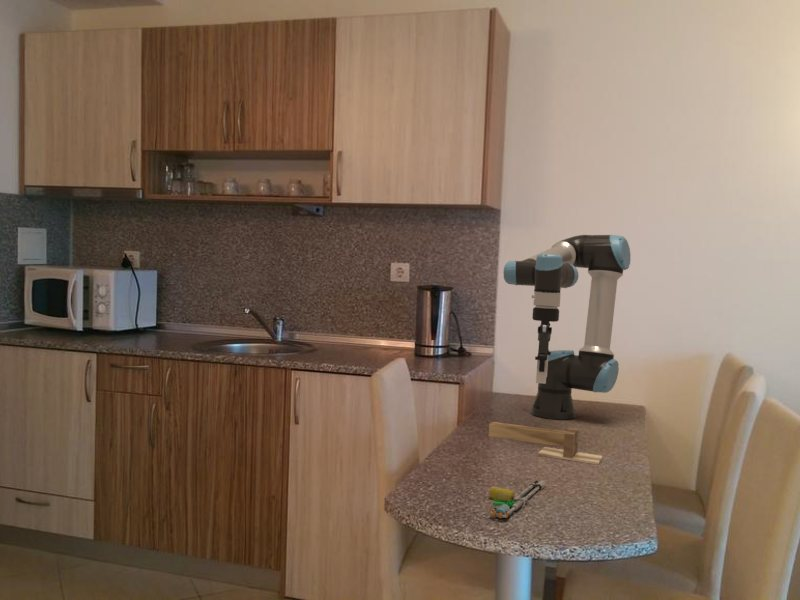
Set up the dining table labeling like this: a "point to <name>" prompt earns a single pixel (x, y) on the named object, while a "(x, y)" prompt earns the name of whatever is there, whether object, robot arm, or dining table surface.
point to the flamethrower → (511, 499)
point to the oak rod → (526, 433)
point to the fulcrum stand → (571, 450)
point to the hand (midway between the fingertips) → (541, 380)
